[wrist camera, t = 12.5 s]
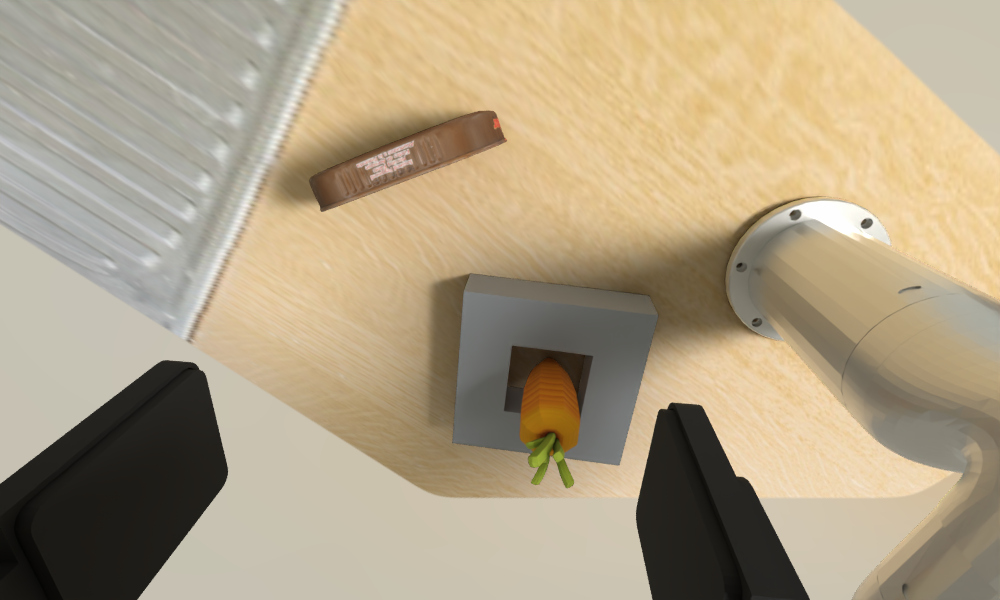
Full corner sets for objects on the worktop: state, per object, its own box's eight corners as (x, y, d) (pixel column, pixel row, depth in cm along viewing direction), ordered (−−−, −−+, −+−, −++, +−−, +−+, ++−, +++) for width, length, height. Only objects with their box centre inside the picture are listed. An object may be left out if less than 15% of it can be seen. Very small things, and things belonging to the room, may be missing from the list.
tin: (347, 200, 43) (304, 228, 35) (330, 165, 42) (282, 186, 34) (512, 139, 40) (504, 154, 32) (498, 99, 39) (486, 105, 31)
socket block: (649, 295, 44) (658, 315, 40) (613, 437, 51) (619, 465, 47) (470, 273, 45) (463, 291, 41) (459, 416, 51) (452, 442, 48)
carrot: (581, 374, 48) (595, 494, 34) (532, 387, 49) (527, 508, 36) (565, 331, 46) (574, 439, 33) (515, 345, 47) (503, 455, 34)
